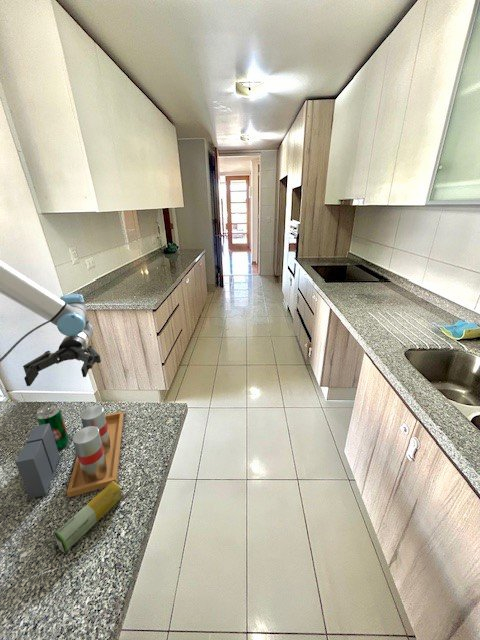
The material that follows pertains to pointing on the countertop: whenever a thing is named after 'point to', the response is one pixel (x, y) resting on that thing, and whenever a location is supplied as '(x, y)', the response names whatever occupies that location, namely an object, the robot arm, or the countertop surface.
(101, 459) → the matching cans
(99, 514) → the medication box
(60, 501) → the countertop surface
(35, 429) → the grey packets
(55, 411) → the soda can
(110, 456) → the can tray
